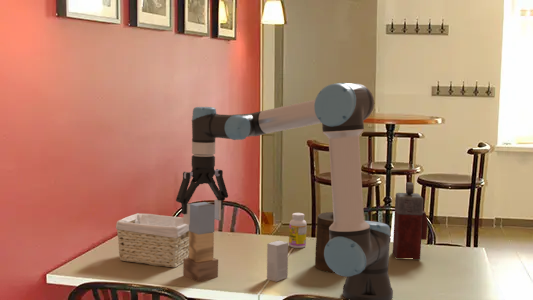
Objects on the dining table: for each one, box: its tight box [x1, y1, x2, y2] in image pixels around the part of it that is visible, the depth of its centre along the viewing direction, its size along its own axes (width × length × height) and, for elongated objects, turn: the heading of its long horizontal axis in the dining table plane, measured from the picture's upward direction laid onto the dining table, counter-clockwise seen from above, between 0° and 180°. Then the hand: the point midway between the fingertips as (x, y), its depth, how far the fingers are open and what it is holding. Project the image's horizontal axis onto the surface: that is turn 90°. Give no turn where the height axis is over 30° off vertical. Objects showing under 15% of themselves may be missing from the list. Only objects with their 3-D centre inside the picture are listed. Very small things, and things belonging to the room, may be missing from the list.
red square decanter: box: [392, 182, 429, 260], centre depth 251 cm, size 9×11×28 cm
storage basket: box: [115, 212, 189, 268], centre depth 238 cm, size 24×16×15 cm
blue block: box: [189, 201, 216, 235], centre depth 219 cm, size 6×6×9 cm
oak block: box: [189, 231, 215, 262], centre depth 220 cm, size 6×6×9 cm
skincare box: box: [266, 240, 289, 282], centre depth 220 cm, size 6×4×12 cm
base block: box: [182, 257, 219, 282], centre depth 221 cm, size 8×8×6 cm
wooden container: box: [314, 211, 334, 273], centre depth 235 cm, size 15×15×22 cm
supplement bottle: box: [288, 212, 307, 249], centre depth 262 cm, size 7×7×13 cm
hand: (202, 221), depth 219 cm, fingers open, 11 cm apart
